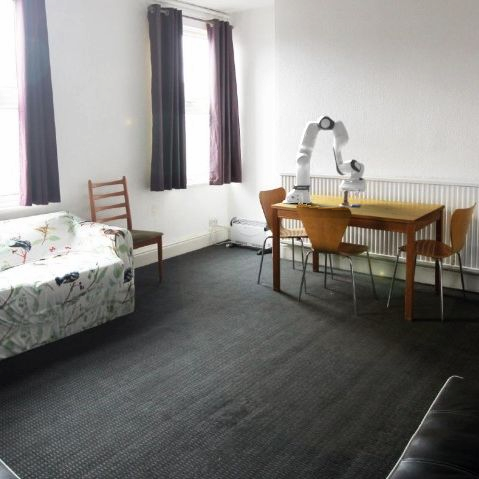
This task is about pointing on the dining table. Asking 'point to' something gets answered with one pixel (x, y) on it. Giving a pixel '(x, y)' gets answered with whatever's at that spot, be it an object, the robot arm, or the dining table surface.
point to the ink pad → (356, 205)
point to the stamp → (345, 198)
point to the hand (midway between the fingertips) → (350, 194)
